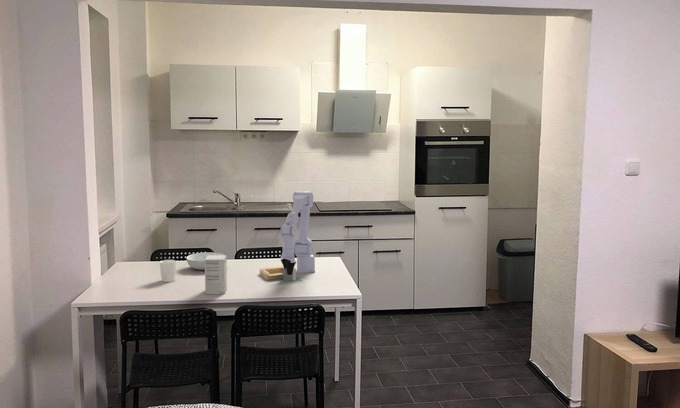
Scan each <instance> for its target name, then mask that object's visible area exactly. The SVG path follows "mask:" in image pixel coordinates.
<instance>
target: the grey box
mask: <svg viewBox="0 0 680 408" xmlns="http://www.w3.org/2000/svg"><path fill="white" fill-rule="evenodd" d="M296 269H297V267H294V269H293V273H292V275H288V273H287V268H282V280H284V281H294V280H296V277H297V272H296Z"/></svg>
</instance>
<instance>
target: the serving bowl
mask: <svg viewBox="0 0 680 408" xmlns="http://www.w3.org/2000/svg"><path fill="white" fill-rule="evenodd" d="M208 255H224V254H223V253H219V252H198V253H191V254H189V255H188V256H186V257H185V258H186V263H187V265H188V266H189V267H191V268H192V269H195V270H200V271H205V259H206V257H207V256H208Z"/></svg>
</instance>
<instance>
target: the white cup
mask: <svg viewBox="0 0 680 408" xmlns="http://www.w3.org/2000/svg"><path fill="white" fill-rule="evenodd" d="M176 265H177V264H176V260H175V259H164V260H160V261H159V270H160V276H161V279H160V280H161V282H162V283H171V282H174V281H176V267H177V266H176Z"/></svg>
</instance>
